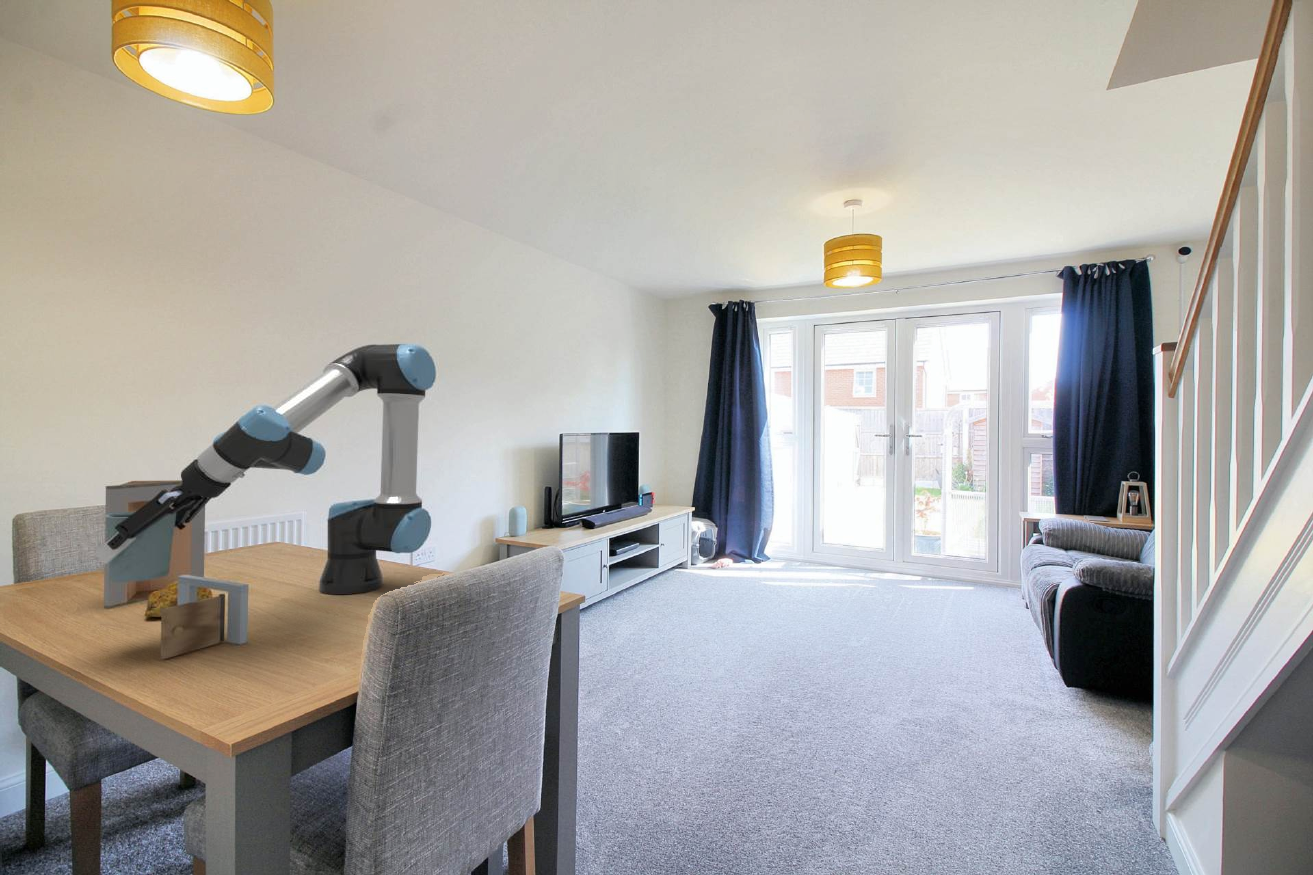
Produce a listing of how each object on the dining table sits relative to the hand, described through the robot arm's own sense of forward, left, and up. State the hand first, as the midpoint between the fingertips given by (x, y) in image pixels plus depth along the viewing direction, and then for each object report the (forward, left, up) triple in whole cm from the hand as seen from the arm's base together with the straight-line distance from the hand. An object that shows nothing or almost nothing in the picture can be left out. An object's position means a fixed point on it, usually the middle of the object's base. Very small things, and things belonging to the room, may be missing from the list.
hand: (123, 552), depth 113 cm
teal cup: (-3, +1, -5) cm, 6 cm away
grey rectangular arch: (-13, -3, -18) cm, 23 cm away
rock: (-2, -23, -19) cm, 29 cm away
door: (-13, +5, -18) cm, 23 cm away
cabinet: (+11, -41, -19) cm, 46 cm away
